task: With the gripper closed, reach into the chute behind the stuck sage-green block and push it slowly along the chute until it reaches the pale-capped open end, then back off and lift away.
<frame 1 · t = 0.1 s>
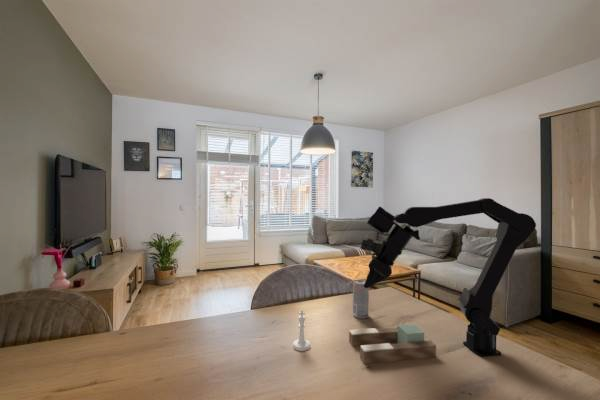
hand: (366, 282, 84), 15 cm above the table, tool tilted 35°, fingers open, 9 cm apart
chess piece: (301, 346, 74), on the table
energy drink: (360, 316, 94), on the table
block: (410, 337, 74), point 3 cm above the table, slide at 0.0 cm
chute: (390, 348, 73), on the table
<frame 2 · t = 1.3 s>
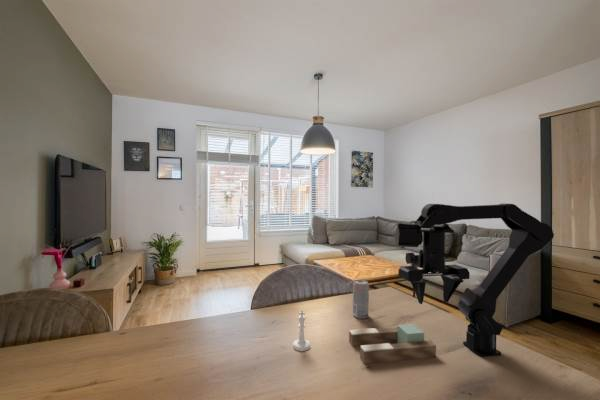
hand: (433, 302, 75), 12 cm above the table, tool pointing down, fingers open, 8 cm apart
nothing on the table moved.
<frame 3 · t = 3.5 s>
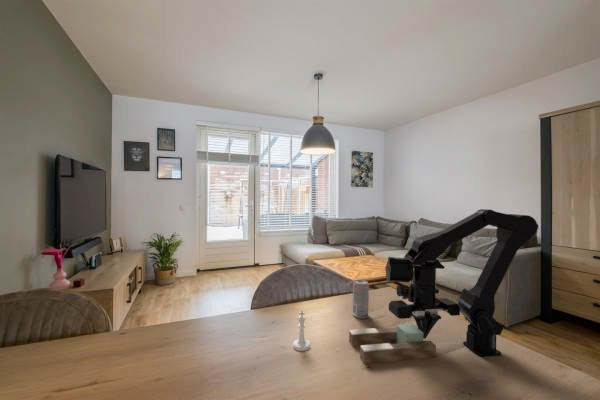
hand: (423, 338, 75), 2 cm above the table, tool pointing down, fingers closed
block: (409, 337, 74), point 3 cm above the table, slide at 0.3 cm, touching gripper
everything else where it was.
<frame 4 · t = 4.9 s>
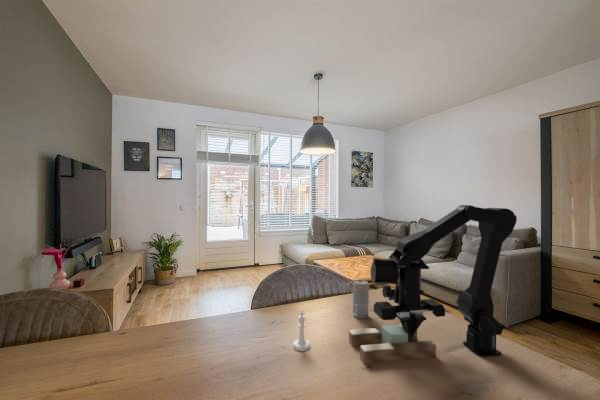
hand: (408, 339, 74), 2 cm above the table, tool pointing down, fingers closed
block: (394, 339, 73), point 3 cm above the table, slide at 4.8 cm, touching gripper
everything else where it was.
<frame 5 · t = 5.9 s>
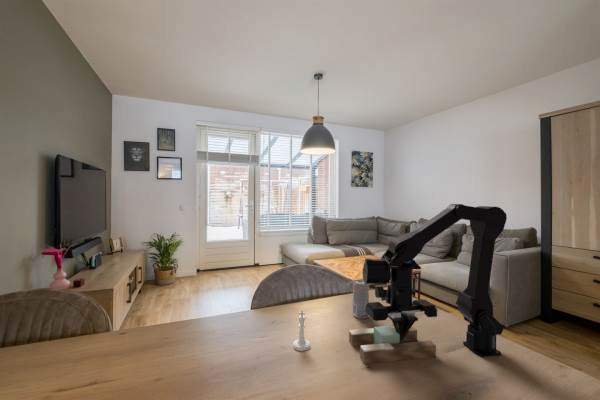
hand: (400, 340, 74), 2 cm above the table, tool pointing down, fingers closed
block: (386, 339, 73), point 3 cm above the table, slide at 7.3 cm, touching gripper
everything else where it was.
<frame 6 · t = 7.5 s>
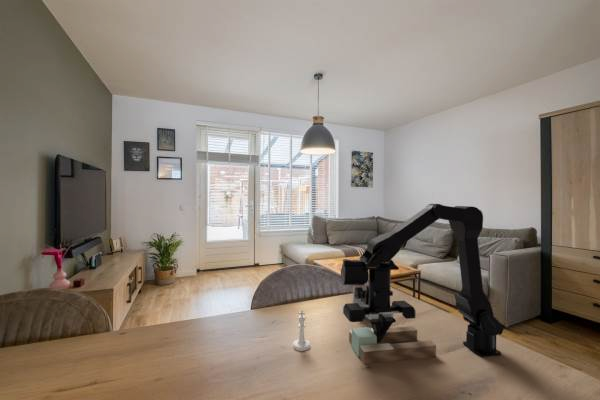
hand: (378, 341, 73), 2 cm above the table, tool pointing down, fingers closed
block: (363, 341, 72), point 3 cm above the table, slide at 13.8 cm, touching gripper
everything else where it was.
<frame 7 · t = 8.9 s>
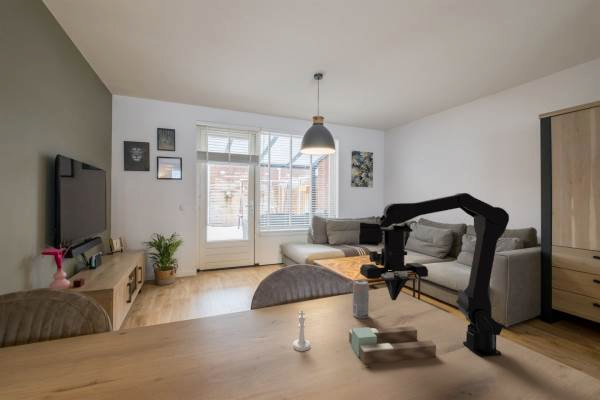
hand: (393, 299, 77), 12 cm above the table, tool pointing down, fingers closed
block: (363, 341, 72), point 3 cm above the table, slide at 13.8 cm
everything else where it was.
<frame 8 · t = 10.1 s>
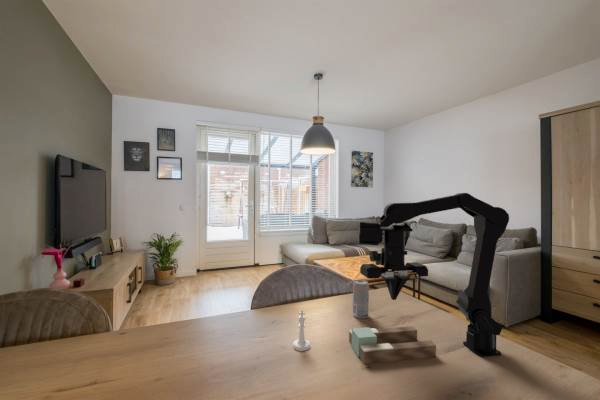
hand: (393, 299, 78), 12 cm above the table, tool pointing down, fingers closed
nothing on the table moved.
at the end: block slide at 13.8 cm; the gripper is holding nothing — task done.
